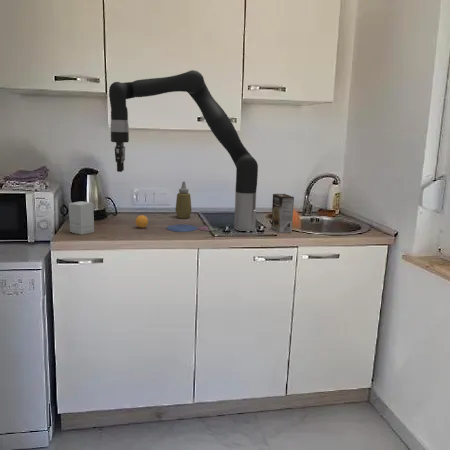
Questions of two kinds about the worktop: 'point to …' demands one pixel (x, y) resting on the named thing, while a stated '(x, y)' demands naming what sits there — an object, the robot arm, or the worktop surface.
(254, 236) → the worktop surface
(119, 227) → the worktop surface
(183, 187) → the squeeze bottle
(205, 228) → the disc
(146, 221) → the ball
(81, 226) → the supplement box
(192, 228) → the disc
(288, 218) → the coffee box
